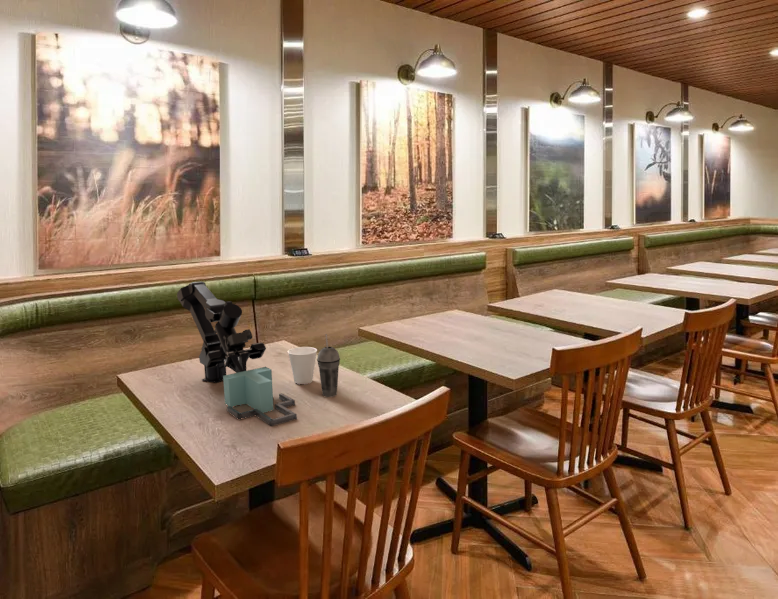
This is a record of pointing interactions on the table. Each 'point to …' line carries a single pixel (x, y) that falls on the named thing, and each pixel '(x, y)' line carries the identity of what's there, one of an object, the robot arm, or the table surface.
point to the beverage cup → (328, 370)
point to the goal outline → (279, 406)
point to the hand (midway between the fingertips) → (244, 377)
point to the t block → (250, 389)
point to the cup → (302, 364)
